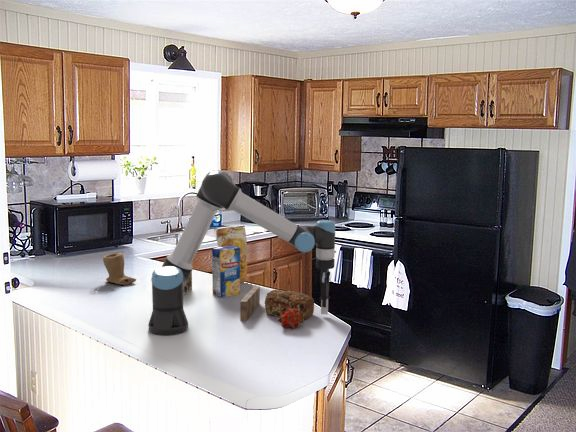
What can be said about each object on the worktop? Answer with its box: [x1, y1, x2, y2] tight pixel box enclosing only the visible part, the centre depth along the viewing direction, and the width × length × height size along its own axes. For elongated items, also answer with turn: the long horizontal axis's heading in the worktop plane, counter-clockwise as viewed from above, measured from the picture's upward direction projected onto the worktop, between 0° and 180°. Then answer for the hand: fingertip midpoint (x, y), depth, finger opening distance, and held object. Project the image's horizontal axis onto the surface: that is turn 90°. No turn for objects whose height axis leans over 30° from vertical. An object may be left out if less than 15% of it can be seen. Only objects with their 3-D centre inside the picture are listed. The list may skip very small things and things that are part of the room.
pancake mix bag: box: [215, 225, 248, 283], centre depth 310 cm, size 7×19×28 cm, turn 129°
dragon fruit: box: [277, 307, 306, 330], centre depth 243 cm, size 8×8×12 cm
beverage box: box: [211, 245, 241, 298], centre depth 288 cm, size 7×11×22 cm, turn 129°
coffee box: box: [183, 271, 193, 296], centre depth 291 cm, size 9×6×16 cm
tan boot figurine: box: [102, 252, 137, 286], centre depth 307 cm, size 15×12×15 cm
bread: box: [264, 289, 315, 320], centre depth 258 cm, size 19×11×10 cm, turn 63°
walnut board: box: [239, 286, 261, 322], centre depth 262 cm, size 24×2×8 cm, turn 170°
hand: (324, 313), depth 256 cm, fingers closed
